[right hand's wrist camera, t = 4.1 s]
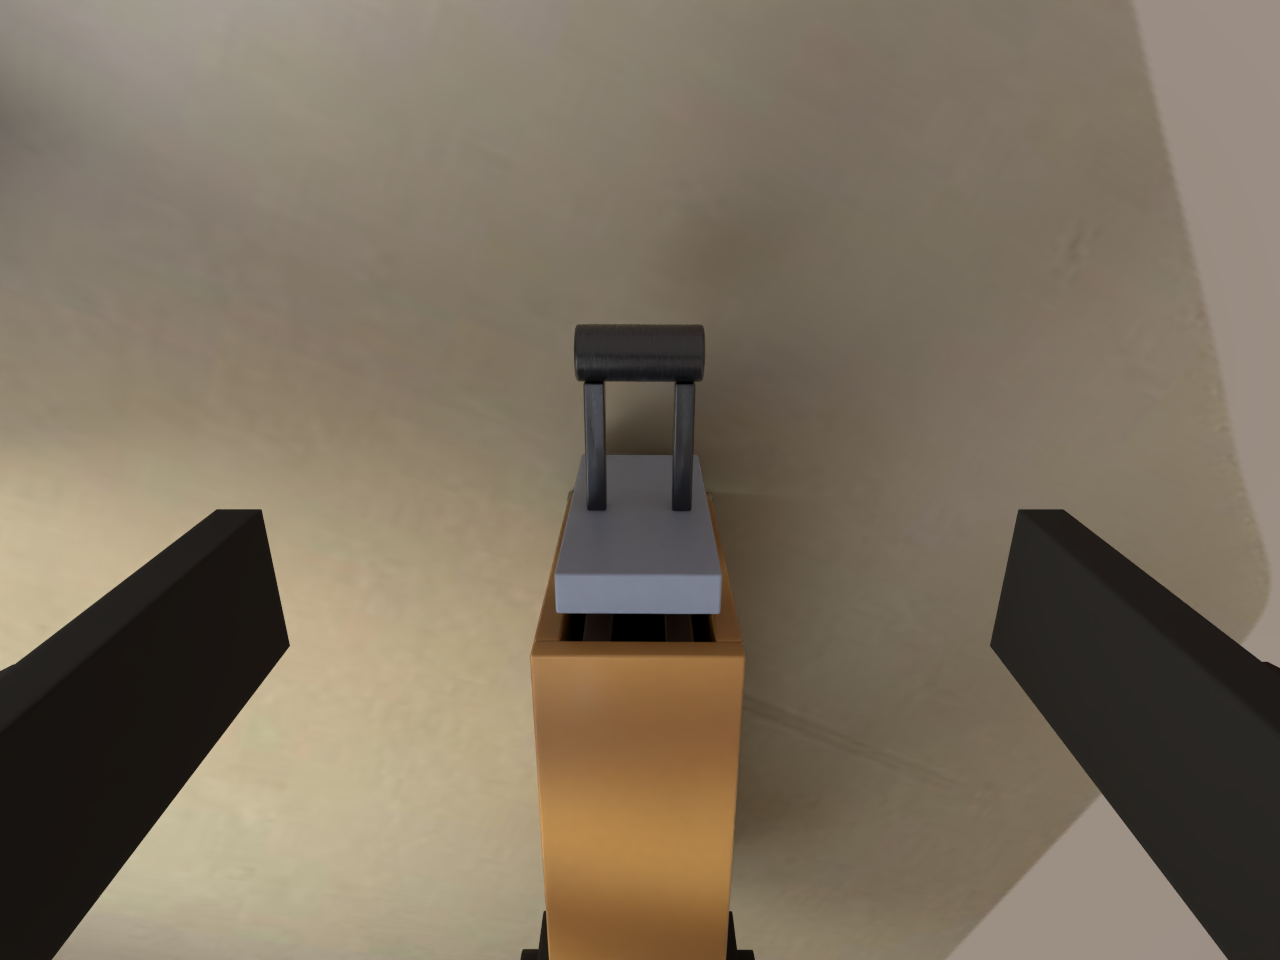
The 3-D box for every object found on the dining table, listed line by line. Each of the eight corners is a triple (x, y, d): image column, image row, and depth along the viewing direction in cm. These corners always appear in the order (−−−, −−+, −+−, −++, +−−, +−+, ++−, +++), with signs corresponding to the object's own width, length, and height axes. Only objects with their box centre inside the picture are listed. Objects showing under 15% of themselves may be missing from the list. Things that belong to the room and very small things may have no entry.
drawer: (577, 299, 25) (543, 357, 17) (703, 300, 25) (733, 357, 17) (592, 827, 34) (575, 1039, 26) (685, 828, 34) (699, 1039, 26)
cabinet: (569, 491, 29) (529, 655, 19) (711, 492, 29) (747, 656, 19) (582, 858, 36) (558, 1118, 26) (696, 859, 36) (716, 1119, 26)
